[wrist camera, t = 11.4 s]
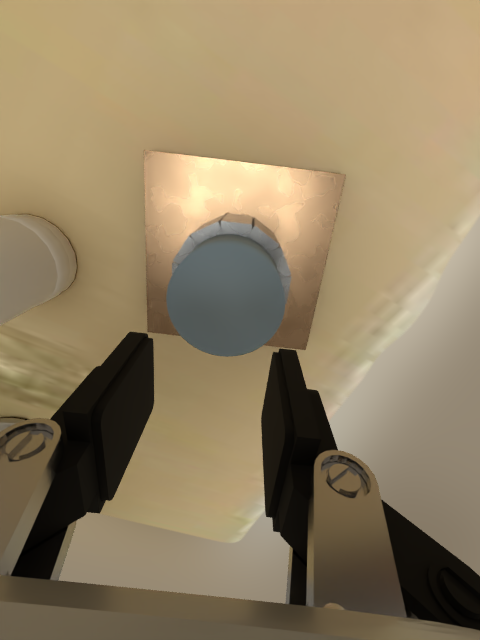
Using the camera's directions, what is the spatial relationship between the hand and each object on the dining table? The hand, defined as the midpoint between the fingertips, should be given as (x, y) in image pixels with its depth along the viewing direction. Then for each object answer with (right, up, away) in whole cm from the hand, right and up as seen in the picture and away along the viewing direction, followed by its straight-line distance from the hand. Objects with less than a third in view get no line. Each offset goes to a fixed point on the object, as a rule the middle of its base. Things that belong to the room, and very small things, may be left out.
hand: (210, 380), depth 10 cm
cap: (+1, +6, +14) cm, 15 cm away
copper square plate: (+1, +8, +18) cm, 19 cm away
